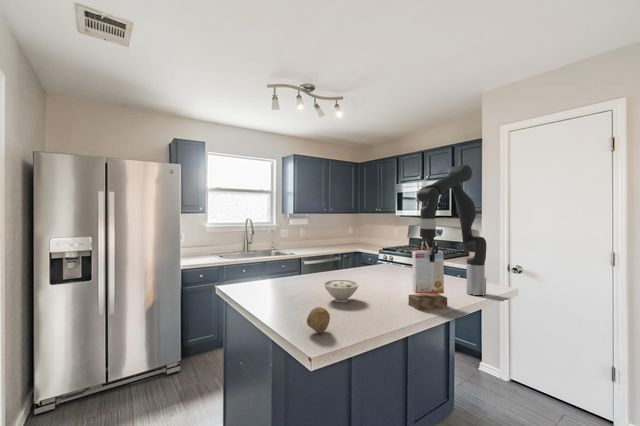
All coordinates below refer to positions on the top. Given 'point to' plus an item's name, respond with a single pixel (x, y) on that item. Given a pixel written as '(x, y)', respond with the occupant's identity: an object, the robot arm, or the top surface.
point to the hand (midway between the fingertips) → (427, 260)
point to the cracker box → (427, 272)
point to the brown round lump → (318, 319)
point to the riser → (427, 301)
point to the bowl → (341, 289)
